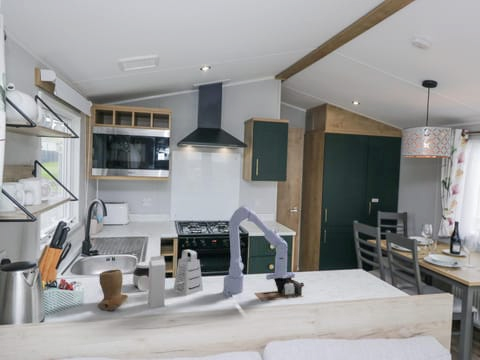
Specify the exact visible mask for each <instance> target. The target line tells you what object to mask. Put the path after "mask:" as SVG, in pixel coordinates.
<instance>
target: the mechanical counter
mask: <svg viewBox="0 0 480 360" xmlns="http://www.w3.org/2000/svg"><path fill="white" fill-rule="evenodd" d="M286 279H287V282H286V284H289V283H290V284H291V285H293V281H295V280H294V279H293V278H292V277H291V278H286ZM297 282H298V281H297ZM298 283H300V282H298ZM300 284H301V285H302V288H303V287H304V286H305V284H304V282H301V283H300Z"/></svg>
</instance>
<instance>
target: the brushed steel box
mask: <svg viewBox="0 0 480 360" xmlns="http://www.w3.org/2000/svg"><path fill="white" fill-rule="evenodd" d="M296 289H297V288H296V286H295V287H294V286H293V284H292V283H289V284H285V286H284V288H283V291H282V294H283V295H284V296H286V295H294V290H296Z"/></svg>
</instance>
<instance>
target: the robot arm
mask: <svg viewBox="0 0 480 360" xmlns="http://www.w3.org/2000/svg"><path fill="white" fill-rule="evenodd" d="M245 220H247V222H253V224H255V225H256V226H257V228H258V229H260V230H261V231H262V232H263V235H264V236H263V237H264V238H265V239H266V241H268V242H269V244H270V245H271V246H272V247H274V248H275V249H274V250H275V252H276V255H275V258H274V261H275V262H274V273H270V274H266V276H265V277H266V278H265V279H266V280H267V281H270V280H274V283H275V286H276V289H277V290H276V291H278V293H279V294H281V293H282V291H283V288H284V286H285V284H286V282H287V279H286V278H291V277H292V278H291V279H295V278H296V277H295V276H296V274H295V273H294V272H287V271H288V251H289V249H288V243H287V241H286V240H284V238H283V237H281V235H279V234H278V231H277V230H276V229H273V228H269V227H268V226H267V224H266V223H265V222H264V221H263V220H262V218H261V217H260V216H259V215H258V214H257V213H256V212H255V211H254V210H253V209H251V208H250V207H249V205H246V204H243V205H241V206H240V207H238V208H237V209H235V210H234V212H233V214H232V216H231V217H230V219H229V220H228V233H229V245H230V246H229V247H230V248H229V249H230V261H229V262H230V263H229V264H230V265H229V268H228V275H226V276H224V277H223V289H222V292H223V293H224V294H225V296H226V297H227V298H231V297H233V294H234V295H239V294H242V293H243V292H244V273H243V270H244V267H245V265H244V263H243V261H242V256H241V241H240V227H239V226H240V224H241V223H242V222H243V221H245Z"/></svg>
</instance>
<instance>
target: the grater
mask: <svg viewBox="0 0 480 360" xmlns="http://www.w3.org/2000/svg"><path fill="white" fill-rule="evenodd" d="M189 253H190V256H188V254H189ZM200 261H201V260H200V259H198V253H197V251H195V250H192V249H189V248H188V249H183V250H182V252H181V258H179V259H178V262H177V267H176V273H175V278H174V285H173V290H174V291H176V292H177V293H180V294H181V295H183V296H190V295H192V294H196V293H198V292H202V291H203V290H204V288H203V280H202V270H201V262H200Z"/></svg>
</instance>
